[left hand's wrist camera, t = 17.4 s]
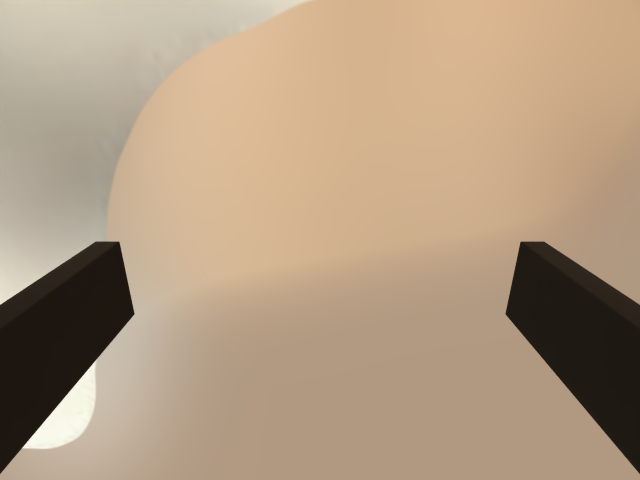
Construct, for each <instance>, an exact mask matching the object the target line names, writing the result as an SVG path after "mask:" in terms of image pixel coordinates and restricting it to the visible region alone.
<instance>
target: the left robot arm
mask: <svg viewBox="0 0 640 480" xmlns="http://www.w3.org/2000/svg"><path fill="white" fill-rule="evenodd" d="M133 315H134V309H133V305H132V300H131V295H130V290H129V286H128V281H127V276H126V271H125V266H124V262H123V257H122V252H121V247H120V243H119V242H95V243H93V244H92V245H90V246H89V247H87V248H86V249H84V250H83V251H81V252H80V253H78V254H77V255H75V256H73V257H72V258H70V259H69V260H67V261H66V262H64V263H63V264H61V265H60V266H58V267H57V268H55V269H54V270H52V271H51V272H49V273H48V274H46V275H45V276H43V277H42V278H40V279H39V280H37V281H36V282H34V283H33V284H31V285H30V286H28V287H27V288H25V289H24V290H22V291H21V292H19V293H18V294H16V295H15V296H13V297H11V298H10V299H8V300H7V301H5V302H4V303H2V304H1V305H0V473H1V472H2V471H3V470H4V469H5V468H6V466H7V465H8V464H9V463H10V462H11V460H12V459H13V458H14V457H15V456H16V454H17V453H18V452H19V451H20V450H21V449H22V447H23V446H24V445H25V444H26V443H27V441H28V440H29V439H30V438H31V437H32V435H33V434H34V433H35V432H36V431H37V430H38V428H39V427H40V426H41V425H42V424H43V422H44V421H45V420H46V419H47V418H48V416H49V415H50V414H51V413H52V412H53V410H54V409H55V408H56V407H57V406H58V405H59V403H60V402H61V401H62V400H63V399H64V397H65V396H66V395H67V394H68V393H69V391H70V390H71V389H72V388H73V387H74V386H75V384H76V383H77V382H78V381H79V380H80V378H81V377H82V376H83V375H84V374H85V372H86V371H87V370H88V369H89V368H90V366H91V365H92V364H93V363H94V362H95V361H96V359H97V358H98V357H99V356H100V355H101V353H102V352H103V351H104V350H105V349H106V347H107V346H108V345H109V344H110V343H111V341H112V340H113V339H114V338H115V337H116V336H117V334H118V333H119V332H120V331H121V330H122V328H123V327H124V326H125V325H126V324H127V322H128V321H129V320H130V319H131V318H132V316H133ZM506 315H507V317H508V318H509V319H510V320H511V321H512V322H513V324H514V325H515V326H516V327H517V328H518V330H519V331H520V332H521V333H522V334H523V336H524V337H525V338H526V339H527V340H528V341H529V343H530V344H531V345H532V346H533V347H534V349H535V350H536V351H537V352H538V353H539V354H540V356H541V357H542V358H543V359H544V360H545V362H546V363H547V364H548V365H549V366H550V368H551V369H552V370H553V371H554V372H555V374H556V375H557V376H558V377H559V378H560V380H561V381H562V382H563V383H564V384H565V386H566V387H567V388H568V389H569V390H570V391H571V393H572V394H573V395H574V396H575V397H576V399H577V400H578V401H579V402H580V403H581V404H582V406H583V407H584V408H585V409H586V410H587V412H588V413H589V414H590V415H591V416H592V418H593V419H594V420H595V421H596V422H597V424H598V425H599V426H600V427H601V428H602V430H603V431H604V432H605V433H606V434H607V435H608V437H609V438H610V439H611V440H612V441H613V443H614V444H615V445H616V446H617V447H618V449H619V450H620V451H621V452H622V453H623V454H624V456H625V457H626V458H627V459H628V460H629V462H630V463H631V464H632V465H633V466H634V468H635V469H636V470H637V471H638V472H639V474H640V305H639V304H638V303H636V302H635V301H633V300H632V299H630V298H628V297H627V296H625V295H624V294H622V293H621V292H619V291H618V290H616V289H615V288H613V287H612V286H610V285H609V284H607V283H606V282H604V281H603V280H601V279H600V278H598V277H597V276H595V275H594V274H592V273H591V272H589V271H588V270H586V269H585V268H583V267H582V266H580V265H579V264H577V263H576V262H574V261H573V260H571V259H570V258H568V257H566V256H565V255H563V254H562V253H560V252H559V251H557V250H556V249H554V248H553V247H551V246H550V245H548V244H547V243H545V242H521V243H520V247H519V252H518V257H517V262H516V266H515V271H514V276H513V281H512V286H511V290H510V295H509V300H508V305H507V309H506Z"/></svg>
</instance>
